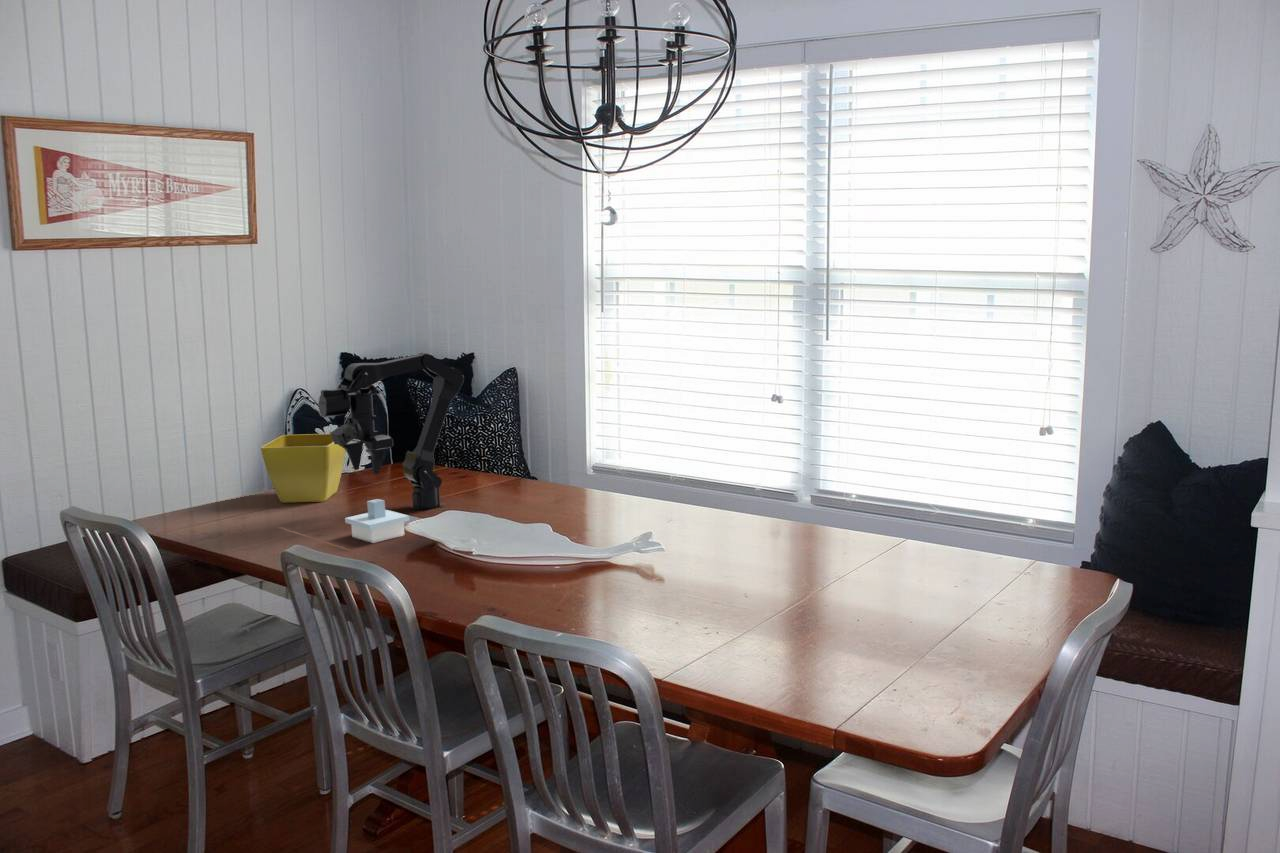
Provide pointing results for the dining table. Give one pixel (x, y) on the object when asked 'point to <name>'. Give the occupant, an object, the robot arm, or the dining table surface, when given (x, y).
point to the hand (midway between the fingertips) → (366, 471)
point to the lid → (376, 516)
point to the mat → (411, 519)
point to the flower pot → (304, 466)
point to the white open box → (378, 532)
